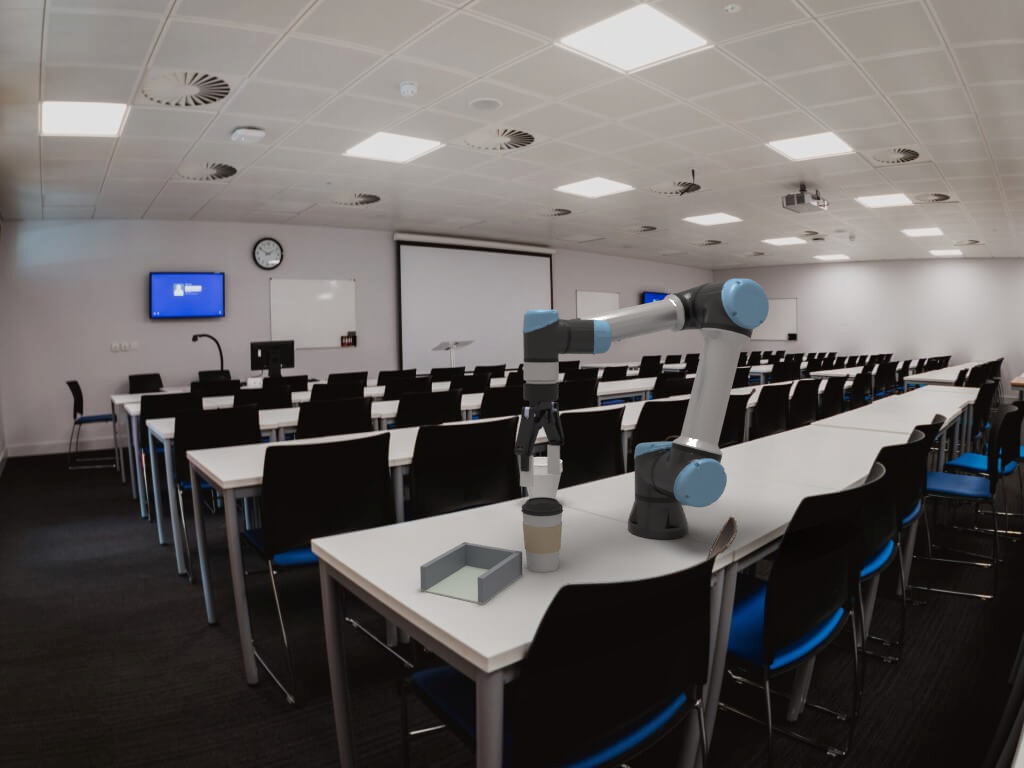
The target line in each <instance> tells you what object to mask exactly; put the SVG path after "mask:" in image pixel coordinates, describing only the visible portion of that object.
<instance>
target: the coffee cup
mask: <svg viewBox="0 0 1024 768" xmlns="http://www.w3.org/2000/svg"><path fill="white" fill-rule="evenodd" d="M563 508H564V507H563V505H562V504H561V503H559V501H558V499H556V498H555V499H554V498H548V497H537V498H531V499H529V498H528V499H527V500H526V502H525V503H523V504H522V505H521V512H522V529H523V533H522V534H523V543H524V550H525V557H526V558H525V559H526V568H527V569H528V570H529V571H532V572H535V573H551V572H554V571H557V570H558V569H559V566H560V565H559V563H560V561H559V560H560V550H561V545H562V543H561V542H562V527H563V520H562V518H563V512H564V509H563Z"/></svg>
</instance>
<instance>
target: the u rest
mask: <svg viewBox="0 0 1024 768" xmlns="http://www.w3.org/2000/svg"><path fill="white" fill-rule="evenodd" d="M419 570H420V571H419V572H420V591H421V592H424V593H429V594H433V595H439V596H441V597H442V596H443V597H448V598H452V599H455V600H456V599H457V600H461V601H465V602H470V603H475V604H479V605H485V604H487V603H488V602H489V601H490V600H492V599H493V598H494V597H496V596H497V595H498V594H499V593H501V592H502V591H503V590H505V589H506V588H507V587H508V586H510V585H511V584H512V583H514V582H515V581H516V580H518V579H519V578H522V577H521V576H523V551H518V550H513V549H508V548H501V547H495V546H489V545H483V544H479V543H478V544H477V543H473V542H472V543H471V542H465V541H464V542H462V543H460V544H458V545H457V546H454V547H453V548H451V549H449V550H447V551H445V552H444V553H442V554H439V555H438V556H436V557H435V558H433V559H431V560H430V561H429V560H428V562H426V563H424V564H422V565H420V569H419Z"/></svg>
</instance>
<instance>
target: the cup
mask: <svg viewBox="0 0 1024 768" xmlns="http://www.w3.org/2000/svg"><path fill="white" fill-rule="evenodd" d="M562 472H563V460H562V459H561V458H560V474H559V475H554V474H547V456H535V457H533V487H532V488H531V487H526V490H527V495H528V499H531V498H537V497H548V498H554V499H556V498H557V495H558V494H557V493H558V490H559V489H558V488H559V483H560V479H561V476H562Z"/></svg>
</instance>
